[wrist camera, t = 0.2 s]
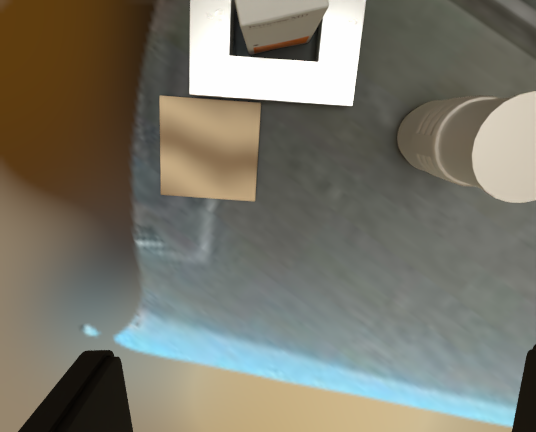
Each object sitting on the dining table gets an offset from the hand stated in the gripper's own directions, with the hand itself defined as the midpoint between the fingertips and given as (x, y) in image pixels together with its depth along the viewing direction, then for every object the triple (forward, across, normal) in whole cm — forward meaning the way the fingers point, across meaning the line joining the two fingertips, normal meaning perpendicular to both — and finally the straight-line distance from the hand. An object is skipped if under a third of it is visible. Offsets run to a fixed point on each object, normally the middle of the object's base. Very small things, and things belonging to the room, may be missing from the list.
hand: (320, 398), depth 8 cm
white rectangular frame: (+30, 0, -14) cm, 34 cm away
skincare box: (+31, 0, -14) cm, 34 cm away
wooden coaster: (+30, +8, -3) cm, 31 cm away
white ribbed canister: (+31, -15, -4) cm, 34 cm away
